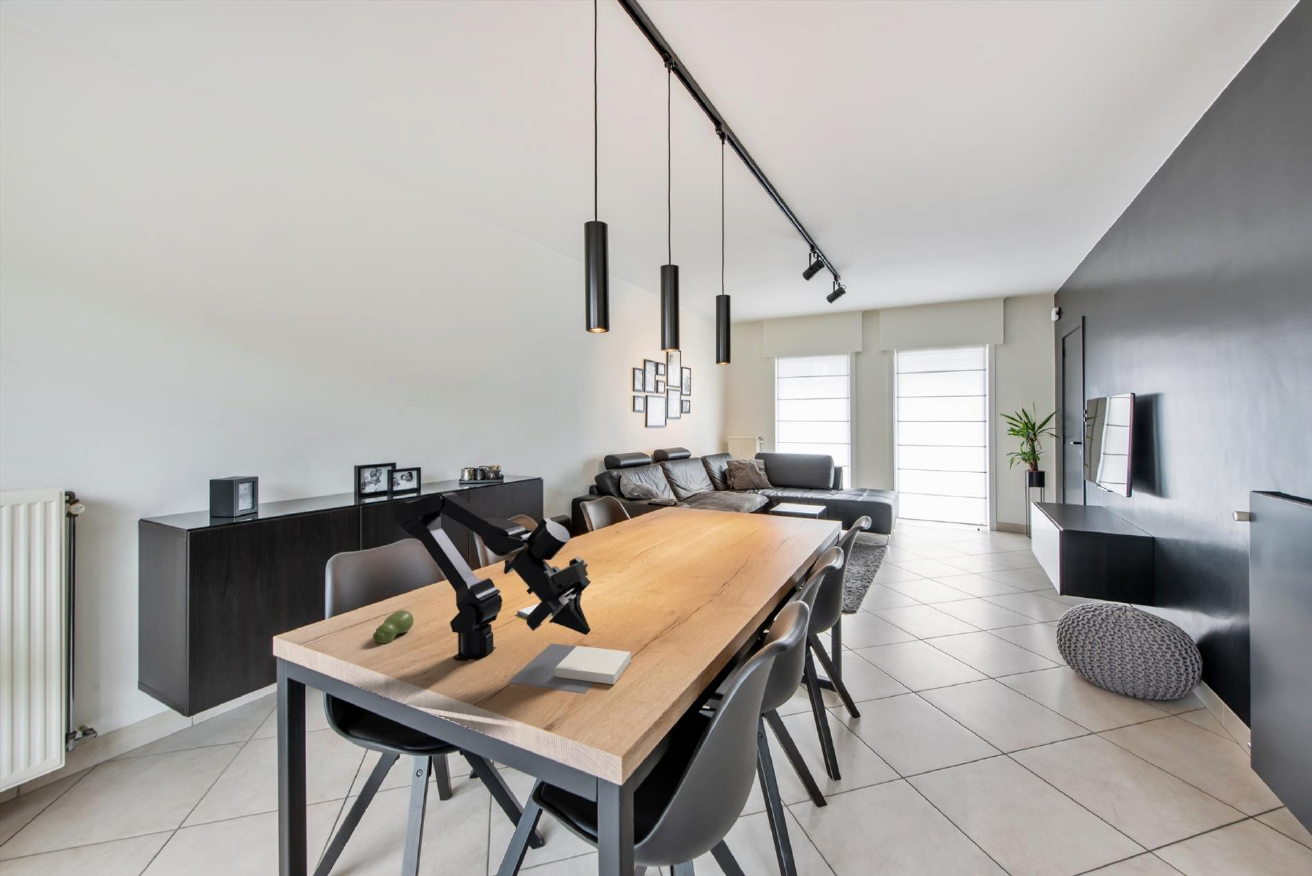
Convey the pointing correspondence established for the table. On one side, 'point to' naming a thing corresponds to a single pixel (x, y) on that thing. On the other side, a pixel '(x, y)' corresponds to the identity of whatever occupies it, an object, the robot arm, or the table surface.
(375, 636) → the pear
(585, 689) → the mat
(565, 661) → the tile
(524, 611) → the external hard drive
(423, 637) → the table surface
